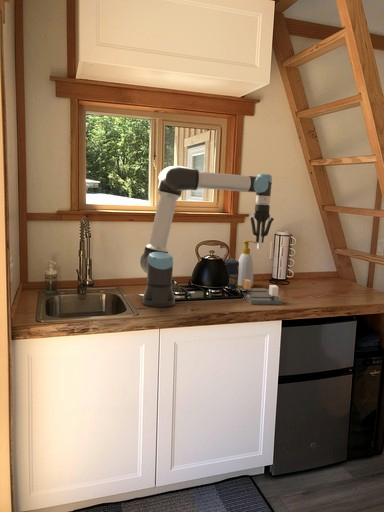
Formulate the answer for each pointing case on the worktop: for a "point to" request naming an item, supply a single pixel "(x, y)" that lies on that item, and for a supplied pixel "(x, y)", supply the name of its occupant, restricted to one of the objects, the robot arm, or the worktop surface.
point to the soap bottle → (245, 265)
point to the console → (260, 296)
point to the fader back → (246, 284)
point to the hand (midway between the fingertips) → (259, 248)
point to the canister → (232, 272)
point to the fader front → (273, 290)
